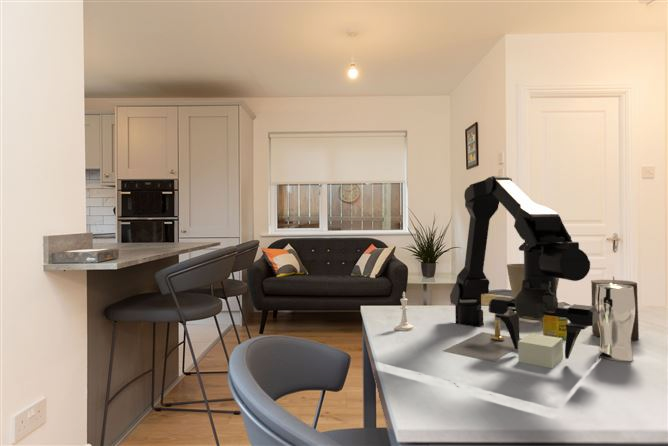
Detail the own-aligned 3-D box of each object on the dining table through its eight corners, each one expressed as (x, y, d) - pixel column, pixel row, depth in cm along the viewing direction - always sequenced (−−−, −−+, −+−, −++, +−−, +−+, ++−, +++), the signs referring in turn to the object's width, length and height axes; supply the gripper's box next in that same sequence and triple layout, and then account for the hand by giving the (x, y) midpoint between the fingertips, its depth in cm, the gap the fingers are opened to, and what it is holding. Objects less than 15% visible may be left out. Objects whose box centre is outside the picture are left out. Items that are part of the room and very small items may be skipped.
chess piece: (414, 327, 113) (414, 291, 114) (412, 331, 109) (411, 293, 109) (397, 326, 115) (396, 290, 115) (393, 330, 110) (393, 293, 110)
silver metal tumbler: (588, 352, 89) (587, 283, 89) (618, 351, 90) (617, 283, 90) (612, 363, 82) (611, 288, 82) (644, 361, 83) (643, 287, 83)
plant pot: (572, 322, 117) (571, 267, 118) (520, 322, 118) (519, 267, 118) (545, 312, 132) (545, 262, 133) (499, 312, 133) (499, 263, 133)
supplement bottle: (550, 336, 103) (549, 298, 103) (572, 341, 98) (571, 301, 99) (538, 339, 100) (537, 300, 100) (560, 344, 95) (560, 303, 96)
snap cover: (518, 364, 80) (518, 341, 80) (531, 354, 86) (530, 333, 86) (552, 371, 76) (551, 347, 76) (563, 360, 82) (562, 338, 82)
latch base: (442, 356, 87) (442, 350, 87) (482, 336, 103) (482, 332, 103) (493, 368, 80) (493, 361, 80) (528, 345, 95) (528, 339, 95)
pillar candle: (640, 343, 96) (639, 279, 96) (591, 337, 101) (590, 277, 101) (636, 334, 104) (635, 275, 104) (591, 329, 109) (590, 273, 110)
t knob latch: (534, 348, 88) (533, 301, 88) (480, 337, 97) (479, 294, 97) (540, 345, 90) (539, 299, 90) (486, 334, 99) (486, 293, 99)
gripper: (477, 274, 82) (478, 353, 81) (585, 282, 69) (586, 375, 69) (498, 270, 90) (499, 341, 90) (598, 276, 77) (599, 359, 77)
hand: (541, 353), depth 81 cm, fingers open, 9 cm apart
